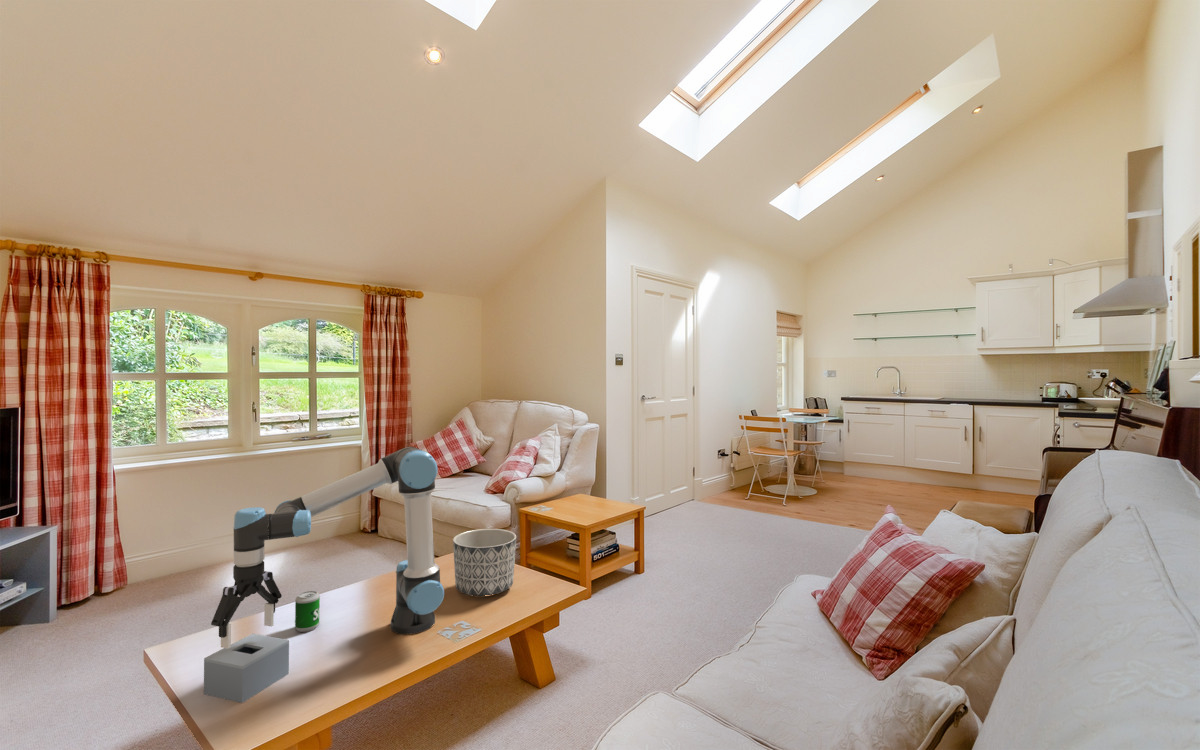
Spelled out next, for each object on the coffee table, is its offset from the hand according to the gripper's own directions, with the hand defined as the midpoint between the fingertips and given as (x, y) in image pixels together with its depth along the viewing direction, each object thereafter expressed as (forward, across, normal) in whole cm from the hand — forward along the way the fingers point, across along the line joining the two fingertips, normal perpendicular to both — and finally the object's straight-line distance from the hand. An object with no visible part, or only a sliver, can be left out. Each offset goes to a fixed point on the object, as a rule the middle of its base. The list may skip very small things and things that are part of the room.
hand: (248, 636), depth 154 cm
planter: (+14, -81, +32) cm, 88 cm away
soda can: (+14, -32, -11) cm, 37 cm away
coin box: (+14, 0, 0) cm, 14 cm away
